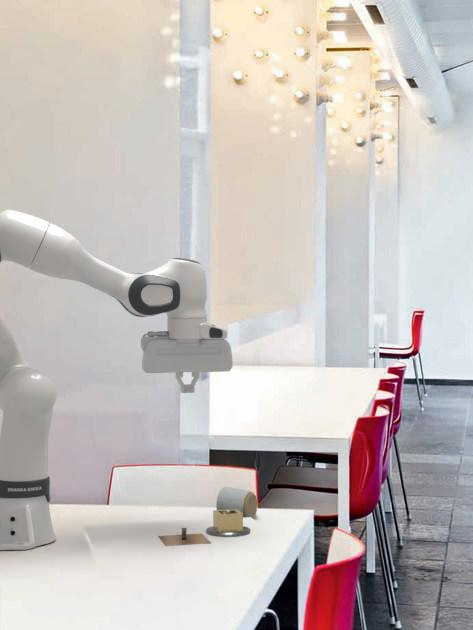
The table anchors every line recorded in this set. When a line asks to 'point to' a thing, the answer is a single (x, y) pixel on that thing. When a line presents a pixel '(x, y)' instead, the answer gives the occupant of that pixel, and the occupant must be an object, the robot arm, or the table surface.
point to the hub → (213, 532)
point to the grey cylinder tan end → (237, 501)
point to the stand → (184, 539)
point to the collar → (227, 521)
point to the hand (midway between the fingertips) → (187, 392)
